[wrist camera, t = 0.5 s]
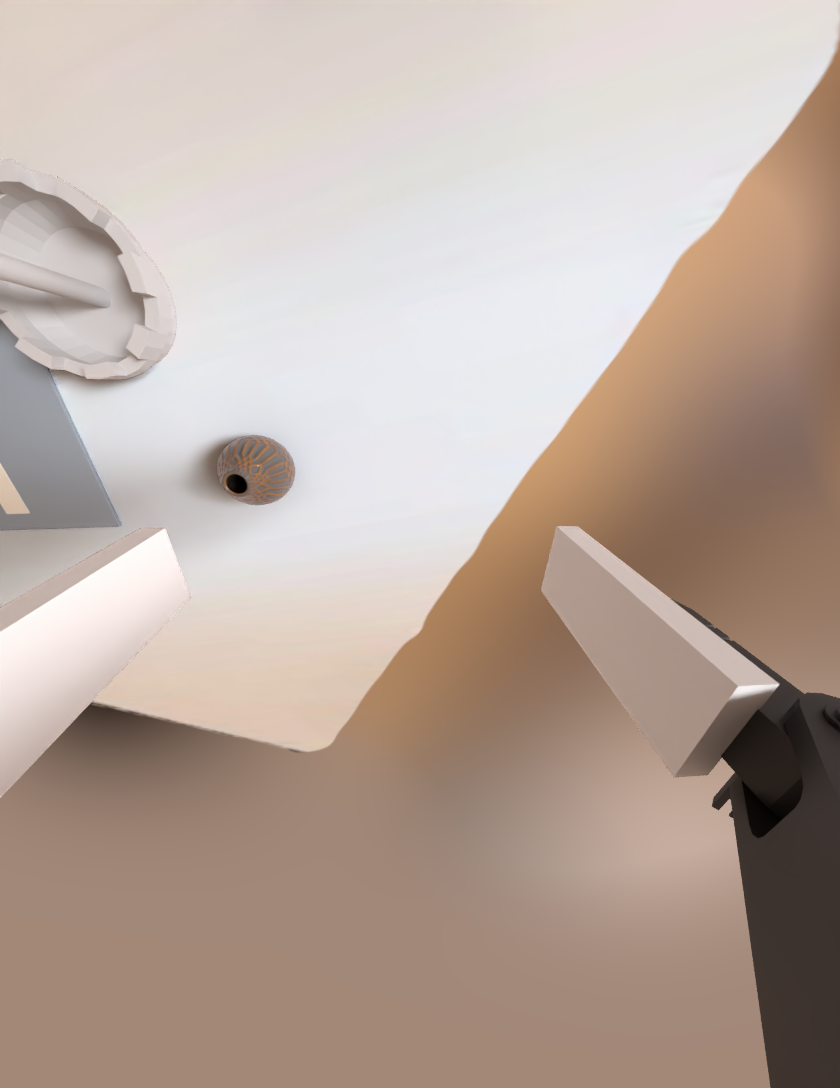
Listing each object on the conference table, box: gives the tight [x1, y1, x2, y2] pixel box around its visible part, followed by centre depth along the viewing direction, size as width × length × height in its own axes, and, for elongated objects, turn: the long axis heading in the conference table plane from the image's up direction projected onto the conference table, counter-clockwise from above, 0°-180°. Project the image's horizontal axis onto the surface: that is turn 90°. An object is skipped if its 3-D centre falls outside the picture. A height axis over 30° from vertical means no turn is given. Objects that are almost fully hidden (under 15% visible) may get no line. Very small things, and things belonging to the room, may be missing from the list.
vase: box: [217, 435, 295, 505], centre depth 32 cm, size 7×7×9 cm
